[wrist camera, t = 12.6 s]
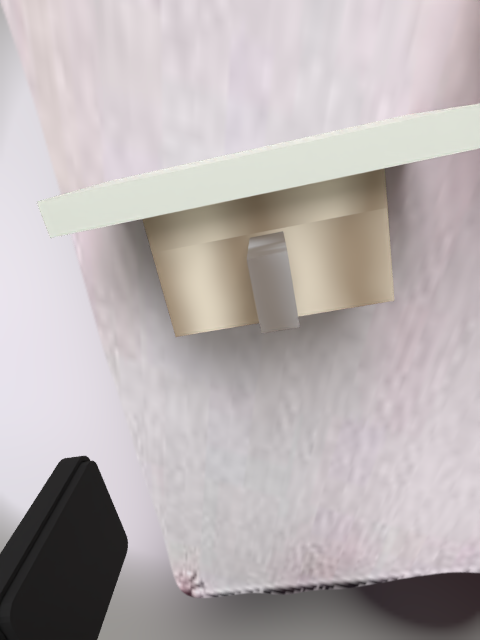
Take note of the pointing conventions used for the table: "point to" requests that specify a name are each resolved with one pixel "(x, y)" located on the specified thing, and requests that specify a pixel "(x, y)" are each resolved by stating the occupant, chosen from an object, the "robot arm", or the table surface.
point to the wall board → (266, 169)
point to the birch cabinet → (275, 255)
